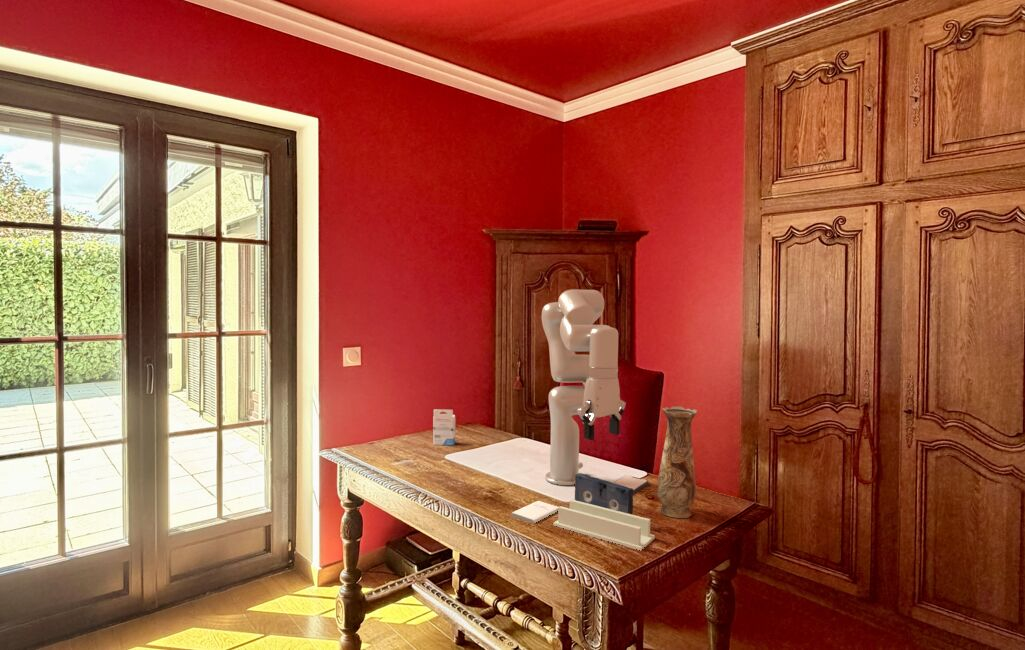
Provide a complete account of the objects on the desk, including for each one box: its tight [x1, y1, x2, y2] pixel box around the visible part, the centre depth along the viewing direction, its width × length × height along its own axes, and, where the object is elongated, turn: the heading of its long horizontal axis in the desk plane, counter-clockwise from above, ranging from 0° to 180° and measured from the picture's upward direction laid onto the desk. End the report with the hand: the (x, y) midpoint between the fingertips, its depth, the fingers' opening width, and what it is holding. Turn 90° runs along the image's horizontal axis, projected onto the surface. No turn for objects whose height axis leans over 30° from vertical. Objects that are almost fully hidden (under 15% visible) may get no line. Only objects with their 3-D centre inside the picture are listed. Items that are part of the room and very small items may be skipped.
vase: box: [657, 405, 698, 519], centre depth 162 cm, size 10×11×30 cm
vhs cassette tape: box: [574, 472, 634, 515], centre depth 160 cm, size 18×3×10 cm, turn 44°
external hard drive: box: [510, 500, 559, 524], centre depth 161 cm, size 2×8×12 cm
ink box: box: [432, 408, 456, 446], centre depth 232 cm, size 8×5×15 cm, turn 85°
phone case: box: [613, 475, 649, 495], centre depth 183 cm, size 9×2×16 cm
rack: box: [552, 499, 656, 552], centre depth 149 cm, size 9×25×5 cm, turn 55°
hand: (601, 436), depth 152 cm, fingers open, 9 cm apart
